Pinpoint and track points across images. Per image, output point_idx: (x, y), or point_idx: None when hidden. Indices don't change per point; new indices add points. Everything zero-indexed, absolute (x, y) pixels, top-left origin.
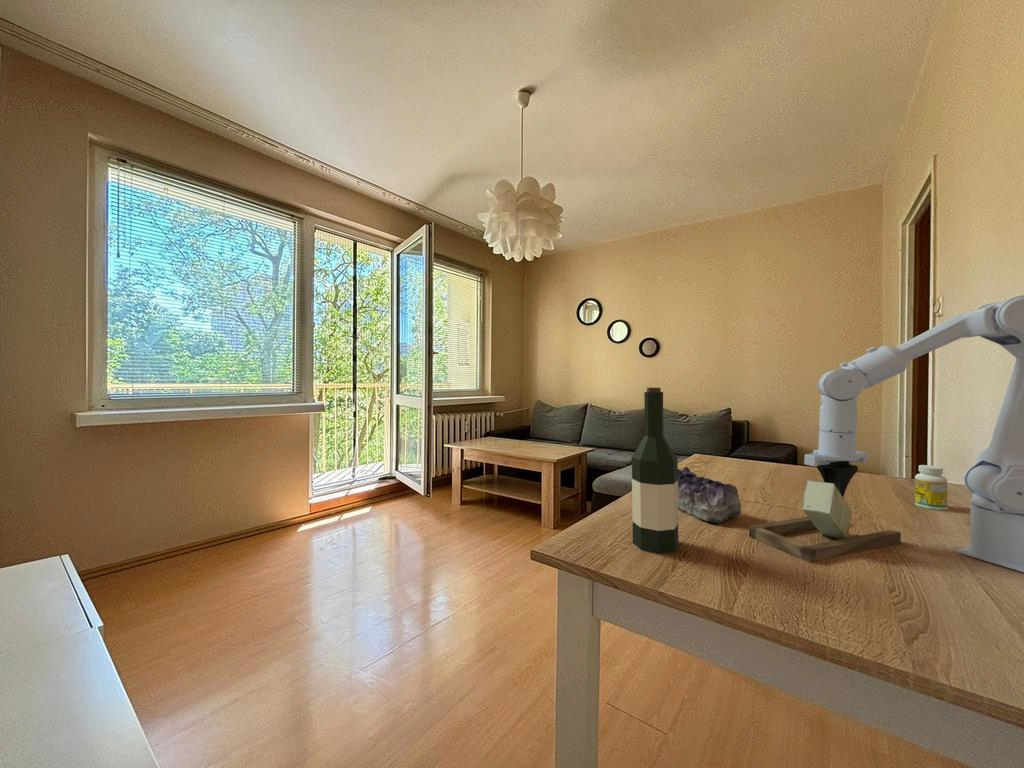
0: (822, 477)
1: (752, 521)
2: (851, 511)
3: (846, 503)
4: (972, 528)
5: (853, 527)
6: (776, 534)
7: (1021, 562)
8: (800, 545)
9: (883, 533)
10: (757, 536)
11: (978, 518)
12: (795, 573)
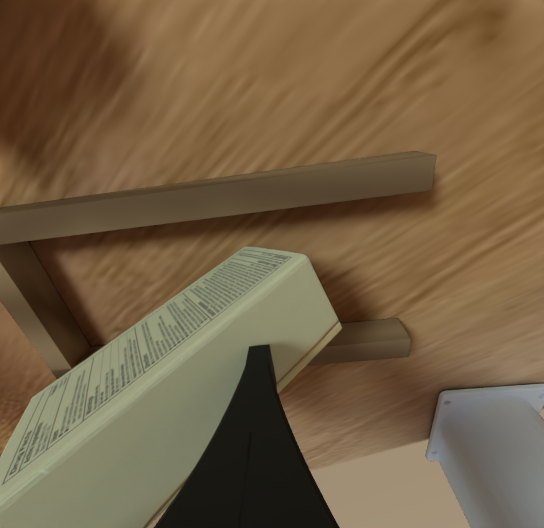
0: (197, 465)
1: (56, 54)
2: (336, 332)
3: (280, 390)
4: (497, 463)
5: (415, 220)
6: (21, 300)
7: (445, 458)
8: (56, 363)
9: (352, 353)
10: None
11: (506, 515)
12: (25, 386)
